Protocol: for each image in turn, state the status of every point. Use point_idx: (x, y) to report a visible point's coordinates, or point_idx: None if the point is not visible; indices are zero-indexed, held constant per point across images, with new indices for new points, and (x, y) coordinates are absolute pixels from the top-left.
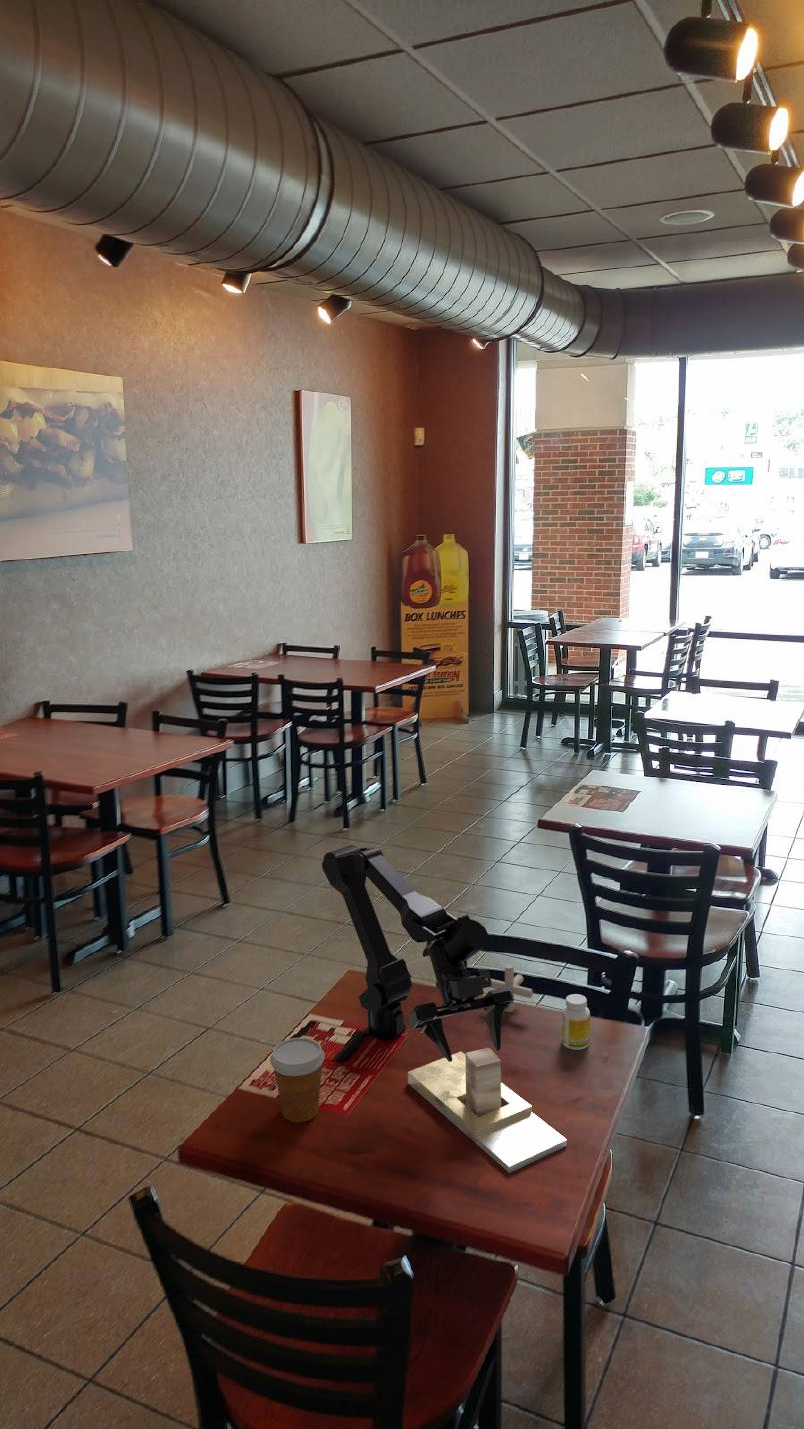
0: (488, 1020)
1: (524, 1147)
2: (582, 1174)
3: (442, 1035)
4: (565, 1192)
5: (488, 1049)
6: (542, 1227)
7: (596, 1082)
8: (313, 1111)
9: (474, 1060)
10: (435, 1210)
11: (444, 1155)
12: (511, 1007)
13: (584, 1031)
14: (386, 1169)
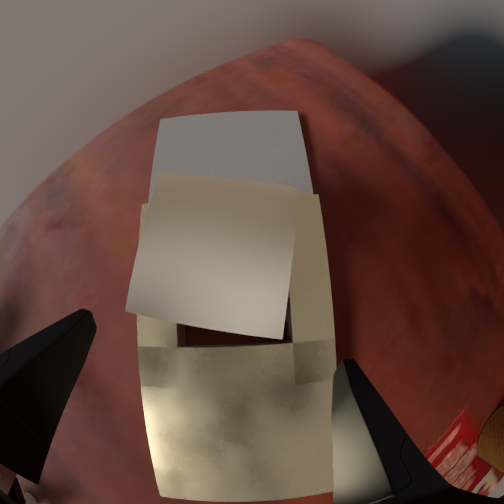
0: (29, 451)
1: (240, 131)
2: (196, 80)
3: (402, 467)
4: (243, 68)
5: (140, 293)
6: (307, 53)
7: (11, 249)
8: (501, 413)
9: (276, 241)
10: (422, 131)
11: (382, 213)
12: (24, 496)
13: None
14: (466, 238)
